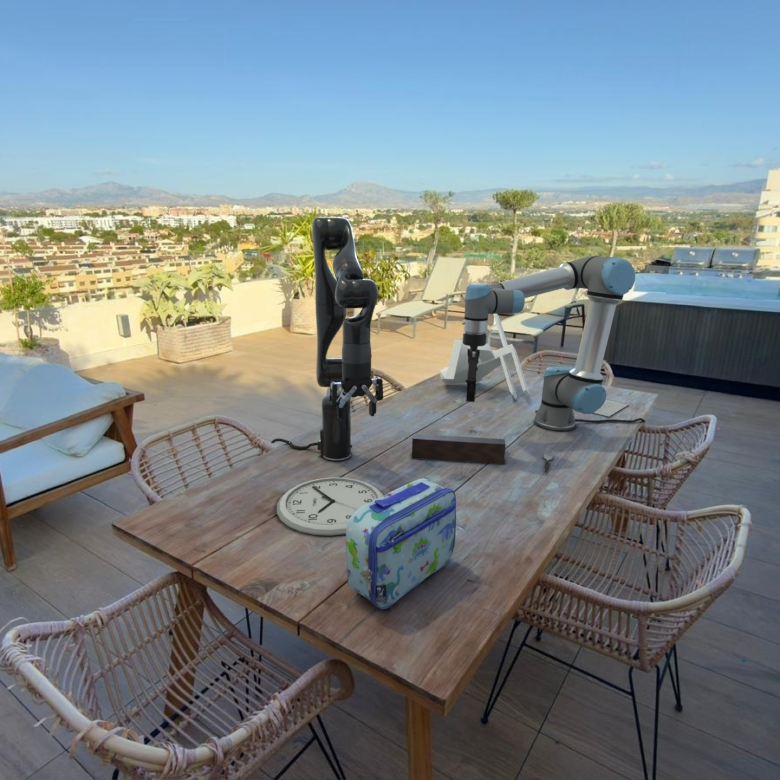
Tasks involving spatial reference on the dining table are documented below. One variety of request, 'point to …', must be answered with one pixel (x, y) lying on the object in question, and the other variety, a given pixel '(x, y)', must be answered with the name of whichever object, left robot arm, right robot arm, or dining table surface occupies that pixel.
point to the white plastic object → (483, 362)
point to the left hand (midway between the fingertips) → (356, 417)
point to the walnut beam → (458, 448)
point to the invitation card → (610, 408)
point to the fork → (547, 459)
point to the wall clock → (324, 504)
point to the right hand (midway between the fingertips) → (470, 395)
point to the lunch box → (400, 540)
